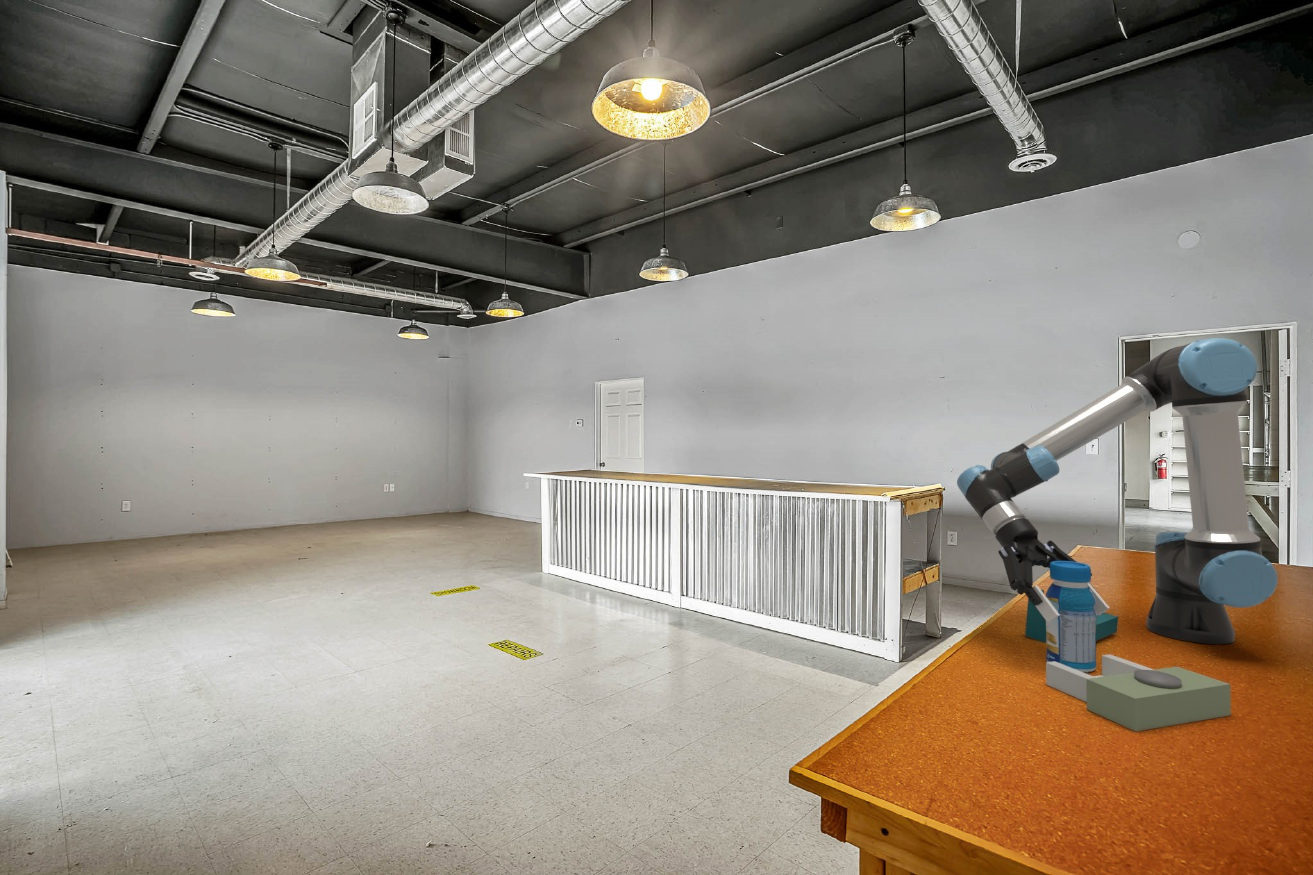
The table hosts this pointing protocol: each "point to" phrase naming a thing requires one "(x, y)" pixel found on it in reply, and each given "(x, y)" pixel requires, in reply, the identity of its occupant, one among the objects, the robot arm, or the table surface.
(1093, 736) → the table surface
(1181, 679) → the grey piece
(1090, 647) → the blue capped bottle
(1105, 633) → the teal l-shaped bracket
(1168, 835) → the table surface
